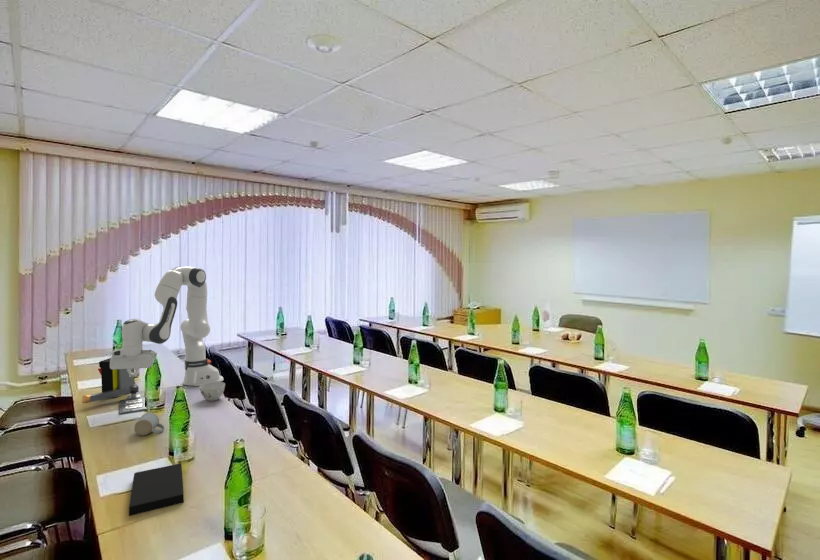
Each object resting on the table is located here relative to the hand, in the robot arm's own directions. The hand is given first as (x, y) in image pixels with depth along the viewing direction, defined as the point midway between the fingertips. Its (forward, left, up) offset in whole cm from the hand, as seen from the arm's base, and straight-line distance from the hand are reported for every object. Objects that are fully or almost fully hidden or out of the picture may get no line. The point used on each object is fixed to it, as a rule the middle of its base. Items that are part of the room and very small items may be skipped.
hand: (133, 376), depth 222 cm
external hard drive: (-7, +104, -15) cm, 106 cm away
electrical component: (+7, -25, -14) cm, 30 cm away
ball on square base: (0, -11, -14) cm, 18 cm away
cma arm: (+10, -8, -11) cm, 17 cm away
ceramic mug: (-6, +48, -14) cm, 51 cm away
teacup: (-36, +16, -14) cm, 42 cm away
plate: (0, +5, -14) cm, 15 cm away
